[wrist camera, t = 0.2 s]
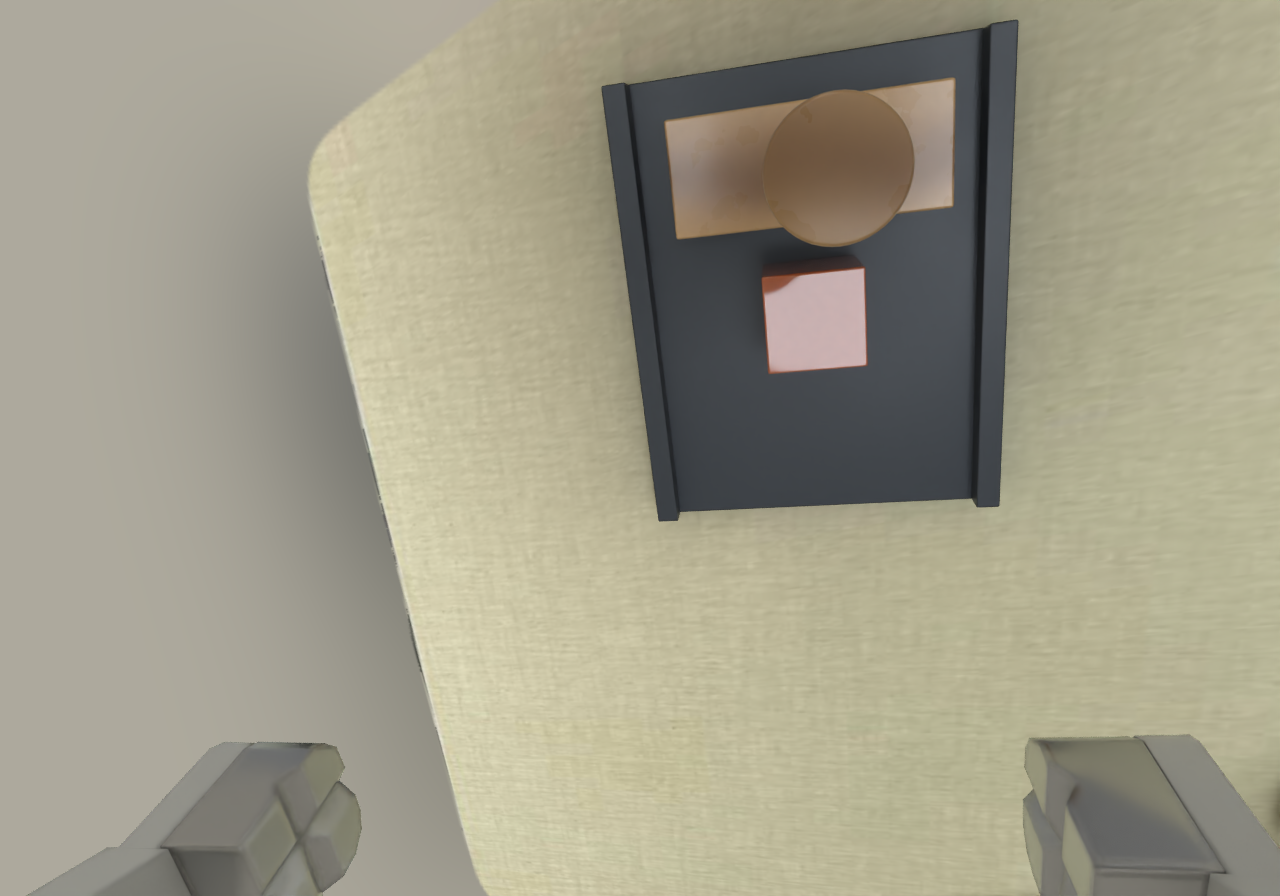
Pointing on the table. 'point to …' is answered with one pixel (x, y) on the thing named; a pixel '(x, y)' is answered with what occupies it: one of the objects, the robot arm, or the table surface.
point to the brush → (815, 163)
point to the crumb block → (815, 314)
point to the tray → (895, 296)
